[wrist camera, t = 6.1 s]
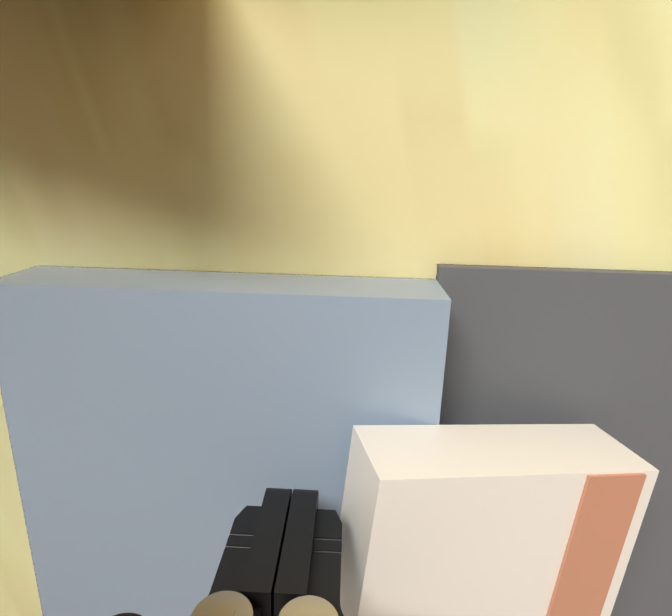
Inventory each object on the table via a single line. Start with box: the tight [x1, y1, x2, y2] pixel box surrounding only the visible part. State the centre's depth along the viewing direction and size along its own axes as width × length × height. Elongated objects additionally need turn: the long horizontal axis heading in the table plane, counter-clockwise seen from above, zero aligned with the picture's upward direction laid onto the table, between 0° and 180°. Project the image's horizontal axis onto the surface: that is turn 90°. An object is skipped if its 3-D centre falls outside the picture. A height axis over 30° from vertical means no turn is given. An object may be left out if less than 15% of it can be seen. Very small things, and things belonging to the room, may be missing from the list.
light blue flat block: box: [0, 266, 451, 616], centre depth 16 cm, size 12×13×2 cm
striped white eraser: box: [340, 424, 659, 616], centre depth 14 cm, size 6×8×3 cm
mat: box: [436, 264, 672, 616], centre depth 17 cm, size 14×12×1 cm
